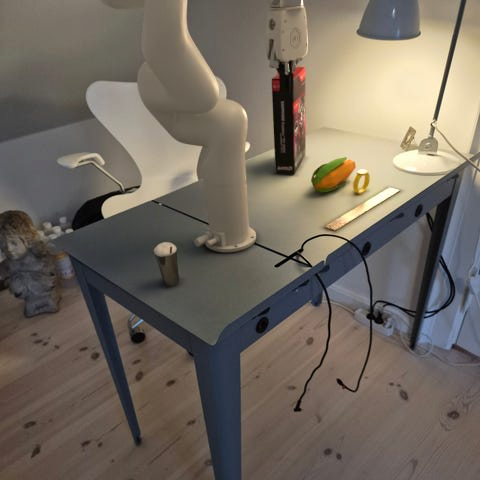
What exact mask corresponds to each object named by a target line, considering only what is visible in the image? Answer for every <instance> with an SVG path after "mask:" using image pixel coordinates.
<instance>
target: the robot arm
mask: <svg viewBox="0 0 480 480" xmlns="http://www.w3.org/2000/svg"><path fill="white" fill-rule="evenodd" d="M99 1H100V2H101V3H103V4H104V5H105V6H107V7H109V8H110V9H111V8H112V9H114V10H139V9H140V10H141V9H143V19H142V29H141V39H140V46H141V47H140V48H141V53H142V56H143V58H144V62H143V63H142V64H141V66H140V67H139V69H138V73H137V78H136V79H137V80H136V84H137V91H138V95H139V97H140V100H141V102H142V103H143V106H144V107H145V109H147V111H148V112H149V113H150V114H151V115H152V117H153V118H154V119H155V120H156V121H157V122H158V123H159V124H160V126H161V127H162V128H163V129H164V131H166V132H167V134H169V136H170V137H171V138H173V139H174V140H175V141H177V142H178V143H181V144H185V145H188V146H197V147H203V148H207V149H208V153H207V155H206V157H205V159H204V162H203V164H202V180H203V186H204V195H205V203H206V212H207V220H208V226H206V227H205V232H204V233H203V235H200V236H198V237H196V238H194V240H193V242H194V245H195V246H196V247H201V246H203V245H204V244H205V246H206V247H207V248H208V249H210V250H212V251H214V252H218V253H236V252H241V251H244V250H246V249H248V248H250V247H252V246H253V245H254V244H255V243H256V240H257V232H256V231H255V230H254V229H253V228H252V227H250V219H249V204H248V189H247V188H248V187H247V186H248V185H247V171H246V145H247V144H246V143H247V135H248V126H249V125H248V121H249V120H248V116H247V112H246V110H245V109H244V107H243V106H242V105H241V104H240V103H239V102H237V101H235V100H232V99H228V98H222V97H221V98H220V86H219V83H218V81H217V78H216V76H215V74H214V72H213V70H212V69H211V68H210V66H209V64H208V63H207V61H206V59H205V58H204V56H203V54H202V53H201V51H200V50H199V48H198V47H197V45H196V44H195V42H194V40H193V38H192V36H191V34H190V31H189V27H188V19H187V17H188V16H187V15H188V0H99ZM267 2H268V11H267V19H266V20H267V21H266V32H265V33H266V35H265V45H266V46H265V47H266V48H265V49H266V57H267V60H268V61H269V63H268V64H269V65H268V66H269V68H270V69H275V70H276V73H277V74H279V90H280V92H285V93H290V92H293V90H294V74H293V73H295V70H296V67H297V65H298V64H299V63H300V62H302V61H303V58H304V57H305V56H306V55H307V54H308V48H309V47H308V46H309V37H308V20H307V19H308V18H307V12H306V7H305V6H304V0H267Z"/></svg>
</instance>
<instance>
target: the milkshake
mask: <svg viewBox="0 0 480 480" xmlns="http://www.w3.org/2000/svg"><path fill="white" fill-rule="evenodd" d="M153 252H154V255H155V259H156V262H157V265H158V268H159V271H160V275H161V278H162V281H163V284H164V286H166V287H169V288H170V287H176V286H177V285H178V284H179V283H180V274H179V263H178V250H177V246H176V245H175V244H173V243H172V242H169V241H163V242H161V243H159V244H157V246H155V247H154V249H153Z"/></svg>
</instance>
